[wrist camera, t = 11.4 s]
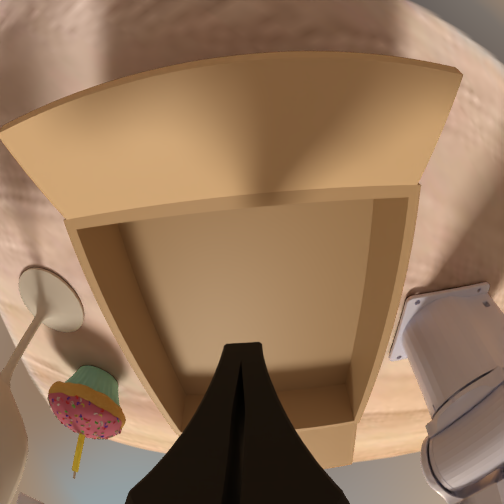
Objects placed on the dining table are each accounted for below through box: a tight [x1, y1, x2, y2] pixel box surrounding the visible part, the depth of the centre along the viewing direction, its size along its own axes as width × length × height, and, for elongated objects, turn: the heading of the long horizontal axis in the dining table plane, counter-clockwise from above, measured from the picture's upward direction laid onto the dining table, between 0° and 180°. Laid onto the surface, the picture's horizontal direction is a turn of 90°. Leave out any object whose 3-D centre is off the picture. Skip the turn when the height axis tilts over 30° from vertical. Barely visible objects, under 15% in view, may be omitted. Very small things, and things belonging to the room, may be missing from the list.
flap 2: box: [179, 423, 357, 469], centre depth 24 cm, size 17×6×1 cm, turn 96°
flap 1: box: [0, 51, 463, 220], centre depth 10 cm, size 17×6×1 cm
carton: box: [64, 183, 421, 435], centre depth 20 cm, size 17×22×5 cm
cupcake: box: [48, 365, 126, 479], centre depth 23 cm, size 9×8×12 cm
